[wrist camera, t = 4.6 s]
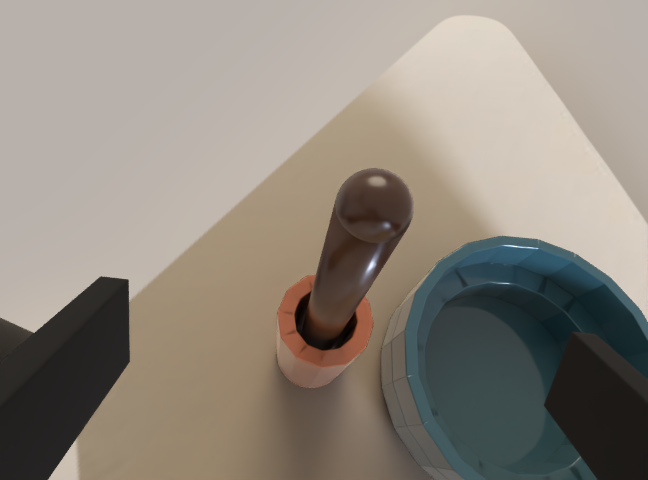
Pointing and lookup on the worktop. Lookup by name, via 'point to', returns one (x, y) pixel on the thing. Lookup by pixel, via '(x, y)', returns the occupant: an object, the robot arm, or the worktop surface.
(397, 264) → the worktop surface
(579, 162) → the worktop surface
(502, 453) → the bowl
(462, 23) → the worktop surface
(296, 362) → the crock
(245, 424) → the worktop surface
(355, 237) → the stirring stick
